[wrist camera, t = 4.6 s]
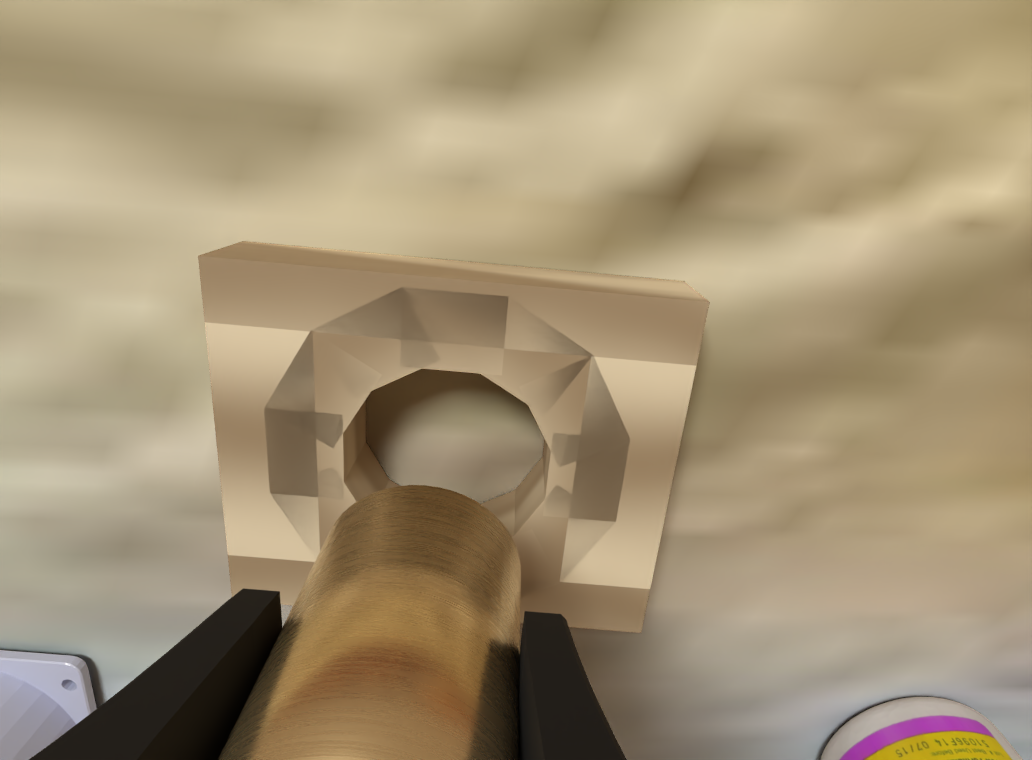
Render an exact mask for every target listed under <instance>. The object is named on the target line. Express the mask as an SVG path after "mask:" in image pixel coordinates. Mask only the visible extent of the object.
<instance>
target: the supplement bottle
mask: <svg viewBox="0 0 1032 760" xmlns="http://www.w3.org/2000/svg"><path fill="white" fill-rule="evenodd" d="M821 760H1023V759H1022V758H1021V756H1020V755H1019V754H1018V753H1017V752H1016V750H1015V749H1014V748H1013V747H1012V745H1011V744H1010V743H1009V742H1008V741H1007V739H1006V738H1005V737H1004V736H1003V735H1002V733H1001V732H1000V731H999V730H998V729H997V728H996V726H995V725H994V724H993V723H992V722H991V721H990V720H989V719H987V718H986V717H985V716H983V715H982V714H981V713H979V712H977V711H976V710H974V709H972V708H970V707H968V706H966V705H964V704H961V703H958V702H956V701H952V700H948V699H943V698H936V697H909V698H902V699H897V700H893V701H889V702H886V703H883V704H880V705H877V706H875V707H872V708H870V709H868V710H866V711H864V712H862V713H860V714H859V715H857V716H856V717H854V718H852V719H851V720H849V721H848V722H847V723H846V724H844V725H843V726H842V727H841V728H840V729H839V730H838V731H837V732H836V733H835V734H834V736H833V737H832V738H831V739H830V741H829V742H828V744H827V746H826V747H825V749H824V751H823V754H822V756H821Z"/></svg>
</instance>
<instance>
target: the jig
mask: <svg viewBox="0 0 1032 760" xmlns="http://www.w3.org/2000/svg"><path fill="white" fill-rule="evenodd" d="M198 259H199V269H200V279H201V289H202V299H203V309H204V319H205V330H206V340H207V350H208V360H209V370H210V380H211V390H212V400H213V410H214V420H215V431H216V441H217V451H218V461H219V471H220V481H221V491H222V501H223V511H224V521H225V531H226V542H227V552H228V562H229V572H230V582H231V592H232V597H233V596H234V595H235V594H237V593H238V592H239V591H240V590H242V589H243V588H244V589H257V590H269V591H280V602H281V604H284V605H294V603H295V601H296V599H297V597H298V595H299V593H300V591H301V589H302V587H303V585H304V583H305V581H306V579H307V577H308V575H309V573H310V571H311V569H312V567H313V565H314V563H315V561H316V559H317V557H318V554H319V552H320V550H321V548H322V546H323V544H324V542H325V540H326V538H327V536H328V534H329V532H330V530H331V529H332V527H333V525H334V523H335V522H336V521H337V519H338V518H339V517H340V516H341V514H342V513H343V512H344V511H346V510H347V509H348V508H349V507H350V506H351V505H353V504H354V503H356V502H357V501H359V500H360V499H362V498H364V497H366V496H368V495H370V494H372V493H375V492H378V491H381V490H384V489H388V488H392V487H397V486H399V485H398V484H396V483H394V482H393V481H391V480H389V478H388V477H387V475H386V474H385V472H384V470H383V469H382V467H381V465H380V464H379V462H378V461H377V459H376V457H375V456H374V454H373V452H372V451H371V449H370V447H369V446H368V444H367V443H366V398H367V397H368V395H369V394H370V392H371V391H373V390H375V389H377V388H379V387H382V386H384V385H386V384H388V383H391V382H393V381H395V380H397V379H400V378H402V377H404V376H406V375H409V374H411V373H413V372H415V371H418V370H420V369H433V370H445V371H456V372H468V373H479V374H482V375H483V376H485V377H486V378H488V379H489V380H491V381H492V382H494V383H495V384H497V385H498V386H500V387H502V388H503V389H505V390H506V391H508V392H509V393H511V394H512V395H514V396H515V397H517V398H518V399H520V400H521V401H523V402H524V403H526V404H528V406H529V408H530V410H531V412H532V414H533V416H534V418H535V420H536V422H537V424H538V426H539V428H540V430H541V432H542V434H543V436H544V438H545V440H544V448H543V457H542V458H541V459H540V460H539V461H538V463H537V464H536V465H535V466H534V468H533V469H532V470H531V471H530V473H529V474H528V475H527V476H526V478H525V479H524V480H523V481H522V482H521V484H520V485H519V486H518V487H517V489H516V490H514V491H512V492H509V493H507V494H504V495H502V496H499V497H497V498H494V499H491V500H489V501H486V502H484V503H481V505H482V506H484V507H485V508H487V509H488V510H489V511H490V512H492V513H493V514H494V515H495V516H496V517H497V518H498V519H499V520H500V521H501V522H502V523H503V525H504V526H505V527H506V529H507V530H508V532H509V533H510V535H511V536H512V538H513V540H514V542H515V544H516V547H517V550H518V553H519V557H520V564H521V596H520V623H523V621H524V612H525V611H530V612H543V613H555V614H562V616H563V617H564V618H565V619H566V620H567V623H568V627H574V628H586V629H599V630H611V631H624V632H637V633H641V631H642V626H643V621H644V616H645V611H646V607H647V602H648V597H649V592H650V587H651V582H652V578H653V573H654V568H655V563H656V558H657V554H658V549H659V544H660V539H661V534H662V529H663V525H664V520H665V515H666V510H667V505H668V500H669V496H670V491H671V486H672V481H673V476H674V472H675V467H676V462H677V457H678V452H679V447H680V443H681V438H682V433H683V428H684V423H685V419H686V414H687V409H688V404H689V399H690V394H691V390H692V385H693V380H694V375H695V370H696V365H697V361H698V356H699V351H700V346H701V341H702V337H703V332H704V327H705V322H706V317H707V312H708V308H709V303H710V302H709V301H708V300H707V299H705V298H704V297H703V296H702V295H700V294H699V293H698V292H697V291H696V290H694V289H693V288H692V287H691V286H689V285H688V284H687V283H686V282H685V281H675V280H664V279H653V278H642V277H631V276H620V275H609V274H598V273H587V272H576V271H565V270H554V269H543V268H532V267H521V266H510V265H499V264H488V263H477V262H466V261H455V260H444V259H433V258H422V257H411V256H400V255H389V254H378V253H367V252H356V251H345V250H334V249H323V248H312V247H301V246H290V245H279V244H268V243H257V242H246V241H242V242H239V243H236V244H233V245H230V246H227V247H224V248H221V249H218V250H215V251H212V252H209V253H205V254H202V255H199V256H198Z"/></svg>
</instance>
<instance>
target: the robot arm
mask: <svg viewBox="0 0 1032 760" xmlns="http://www.w3.org/2000/svg"><path fill="white" fill-rule="evenodd" d="M281 630H282V618H281V602H280V591H269V590H257V589H244V588H243V589H242V590H240V591H239V592H238V593H237V594H235V595H234V596H233V597H232V598H231V599H229V600H228V601H227V602H226V603H225V604H223V605H222V606H221V607H220V608H219V609H217V610H216V611H215V612H214V613H213V614H212V615H210V616H209V617H208V618H207V619H206V620H205V621H203V622H202V623H201V624H200V625H199V626H198V627H196V628H195V629H194V630H193V631H192V632H191V633H189V634H188V635H187V636H186V637H185V638H183V639H182V640H181V641H180V642H179V643H178V644H176V645H175V646H174V647H173V648H172V649H170V650H169V651H168V652H167V653H166V654H164V655H163V656H162V657H161V658H160V659H158V660H157V661H156V662H155V663H153V664H152V665H151V666H150V667H149V668H147V669H146V670H145V671H144V672H142V673H141V674H140V675H139V676H138V677H136V678H135V679H134V680H133V681H131V682H130V683H129V684H128V685H127V686H125V687H124V688H123V689H122V690H120V691H119V692H118V693H117V694H115V695H114V696H113V697H112V698H110V699H109V700H108V701H106V702H105V703H104V704H102V705H101V706H100V707H98V708H96V703H95V698H94V694H93V689H92V684H91V680H90V675H89V671H88V667H87V664H86V662H85V661H83V660H82V659H81V658H79V657H76V656H71V655H58V654H45V653H32V652H19V651H6V650H0V760H218V758H219V756H220V754H221V752H222V750H223V748H224V746H225V744H226V742H227V740H228V738H229V736H230V734H231V732H232V730H233V727H234V725H235V723H236V721H237V719H238V717H239V715H240V713H241V711H242V709H243V707H244V705H245V703H246V701H247V699H248V697H249V695H250V693H251V691H252V689H253V687H254V685H255V683H256V681H257V679H258V677H259V675H260V673H261V671H262V668H263V666H264V664H265V662H266V660H267V658H268V656H269V654H270V652H271V650H272V648H273V646H274V644H275V642H276V640H277V638H278V636H279V634H280V632H281ZM518 760H626V758H625V756H624V754H623V752H622V750H621V748H620V746H619V744H618V742H617V740H616V738H615V736H614V734H613V732H612V730H611V728H610V726H609V724H608V722H607V720H606V718H605V715H604V713H603V711H602V709H601V707H600V705H599V703H598V701H597V699H596V696H595V694H594V692H593V690H592V687H591V685H590V683H589V680H588V678H587V675H586V673H585V671H584V668H583V666H582V663H581V661H580V658H579V656H578V653H577V650H576V648H575V645H574V642H573V639H572V636H571V633H570V630H569V627H568V623H567V620H566V619H565V618H564V617H563V616H562V614H555V613H543V612H530V611H525V612H524V621H523V629H522V638H521V646H520V657H519V752H518Z"/></svg>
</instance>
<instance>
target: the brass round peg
mask: <svg viewBox="0 0 1032 760" xmlns="http://www.w3.org/2000/svg"><path fill="white" fill-rule="evenodd" d="M520 596H521V564H520V557H519V553H518V550H517V547H516V544H515V542H514V540H513V538H512V536H511V535H510V533H509V532H508V530H507V529H506V527H505V526H504V525H503V523H502V522H501V521H500V520H499V519H498V518H497V517H496V516H495V515H494V514H493V513H492V512H490V511H489V510H488V509H487V508H485V507H484V506H482V505H481V504H479V503H478V502H476V501H474V500H472V499H470V498H469V497H467V496H465V495H462V494H459V493H457V492H454V491H451V490H447V489H443V488H439V487H432V486H424V485H408V486H397V487H392V488H388V489H384V490H381V491H378V492H375V493H372V494H370V495H368V496H366V497H364V498H362V499H360V500H359V501H357V502H356V503H354V504H353V505H351V506H350V507H349V508H348V509H347V510H346V511H344V512H343V513H342V514H341V516H340V517H339V518H338V519H337V521H336V522H335V523H334V525H333V527H332V529H331V530H330V532H329V534H328V536H327V538H326V540H325V542H324V544H323V546H322V548H321V550H320V552H319V554H318V557H317V559H316V561H315V563H314V565H313V567H312V569H311V571H310V573H309V575H308V577H307V579H306V581H305V583H304V585H303V587H302V589H301V591H300V593H299V595H298V597H297V599H296V601H295V603H294V605H293V607H292V609H291V611H290V614H289V616H288V618H287V620H286V622H285V624H284V626H283V628H282V630H281V632H280V634H279V636H278V638H277V640H276V642H275V644H274V646H273V648H272V650H271V652H270V654H269V656H268V658H267V660H266V662H265V664H264V666H263V668H262V671H261V673H260V675H259V677H258V679H257V681H256V683H255V685H254V687H253V689H252V691H251V693H250V695H249V697H248V699H247V701H246V703H245V705H244V707H243V709H242V711H241V713H240V715H239V717H238V719H237V721H236V723H235V725H234V727H233V730H232V732H231V734H230V736H229V738H228V740H227V742H226V744H225V746H224V748H223V750H222V752H221V754H220V756H219V758H218V760H518V752H519V657H520Z"/></svg>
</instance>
